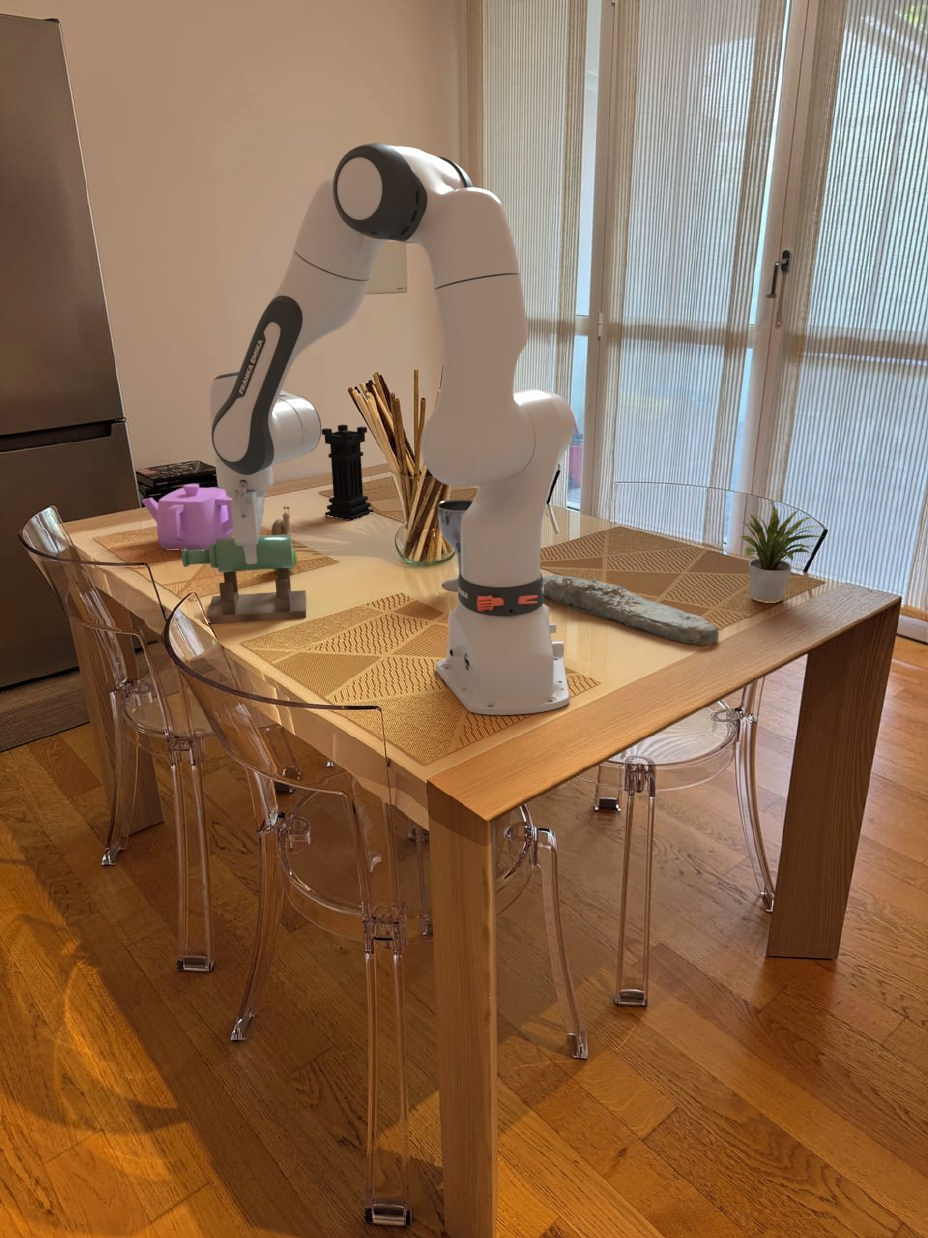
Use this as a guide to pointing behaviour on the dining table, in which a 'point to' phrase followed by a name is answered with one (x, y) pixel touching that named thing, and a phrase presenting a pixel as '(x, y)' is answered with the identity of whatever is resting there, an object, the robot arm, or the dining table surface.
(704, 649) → the dining table surface
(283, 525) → the snail figurine
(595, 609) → the long grey stone
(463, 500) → the wine glass
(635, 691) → the dining table surface
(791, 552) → the house plant
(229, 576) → the u-rest
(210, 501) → the teakettle
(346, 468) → the chess piece
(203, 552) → the bottle
